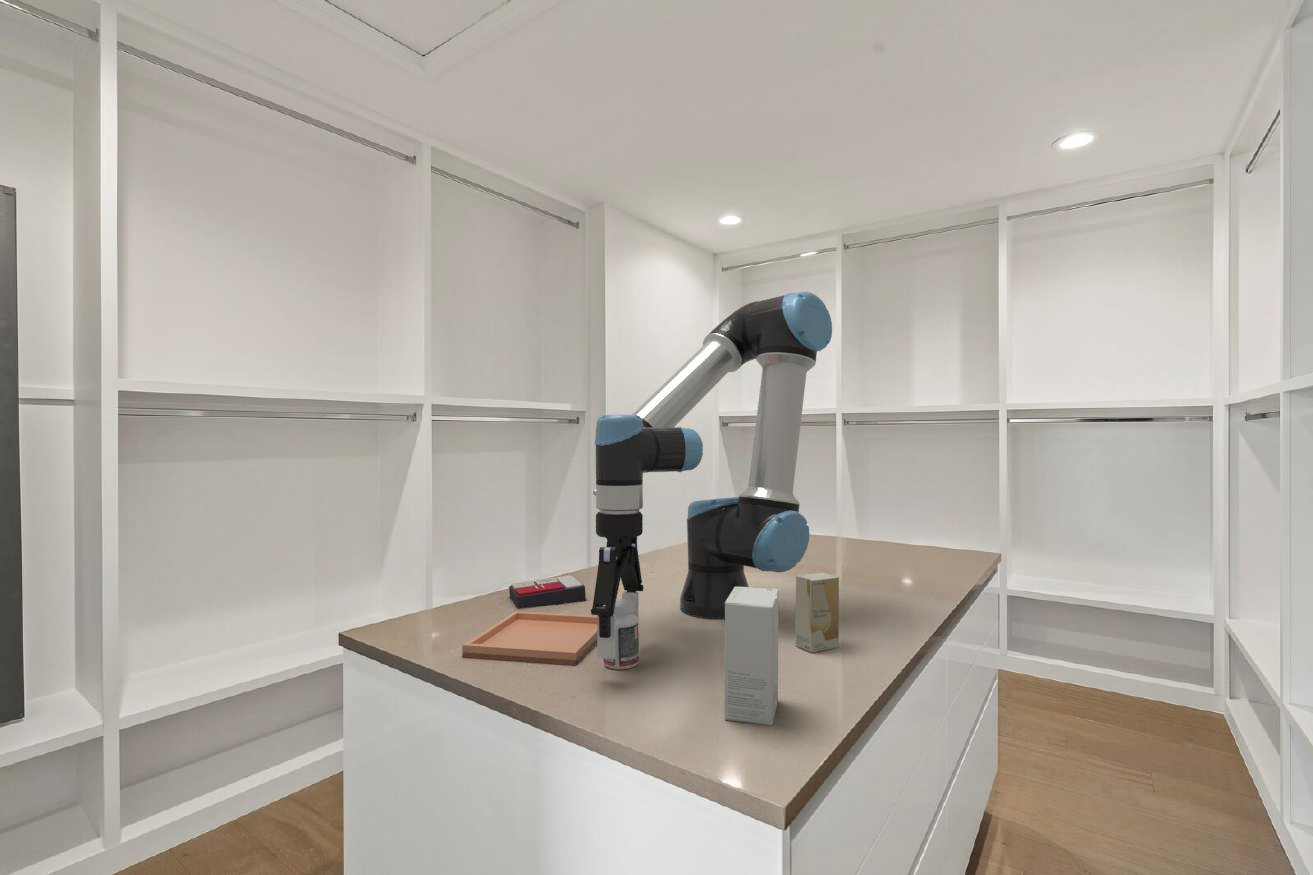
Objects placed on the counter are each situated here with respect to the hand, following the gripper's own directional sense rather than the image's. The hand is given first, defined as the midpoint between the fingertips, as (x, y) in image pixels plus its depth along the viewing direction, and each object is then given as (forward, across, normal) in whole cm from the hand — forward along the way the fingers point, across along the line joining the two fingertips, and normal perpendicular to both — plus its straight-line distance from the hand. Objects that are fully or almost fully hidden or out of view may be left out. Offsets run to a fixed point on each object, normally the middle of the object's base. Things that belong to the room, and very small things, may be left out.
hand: (619, 643), depth 102 cm
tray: (+3, -8, -17) cm, 19 cm away
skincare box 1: (+4, +13, +22) cm, 26 cm away
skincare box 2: (+3, -14, +31) cm, 35 cm away
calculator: (+4, -36, -27) cm, 45 cm away
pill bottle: (+4, 0, 0) cm, 4 cm away
